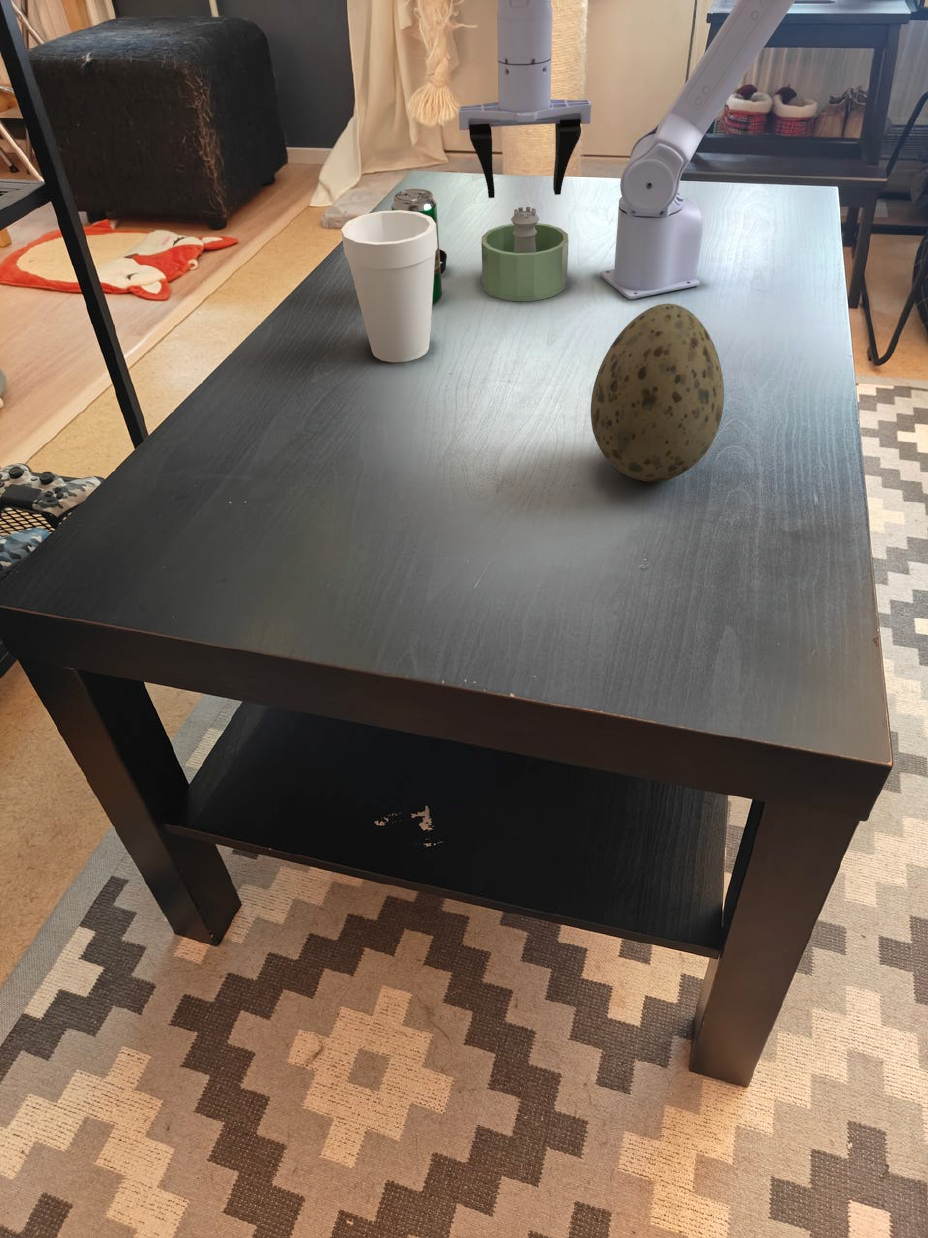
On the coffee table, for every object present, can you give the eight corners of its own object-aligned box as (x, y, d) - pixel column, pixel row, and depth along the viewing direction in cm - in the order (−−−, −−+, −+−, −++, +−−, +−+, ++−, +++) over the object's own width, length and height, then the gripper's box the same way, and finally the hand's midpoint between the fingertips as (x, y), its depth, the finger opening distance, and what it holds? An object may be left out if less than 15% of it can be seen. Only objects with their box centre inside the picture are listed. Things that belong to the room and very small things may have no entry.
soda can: (437, 310, 105) (430, 203, 97) (395, 308, 106) (385, 201, 98) (446, 292, 108) (440, 187, 100) (405, 290, 109) (396, 186, 101)
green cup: (545, 261, 114) (546, 217, 110) (580, 291, 107) (582, 245, 103) (470, 276, 112) (469, 230, 108) (501, 307, 105) (500, 260, 101)
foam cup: (377, 377, 94) (362, 251, 85) (344, 343, 100) (327, 222, 91) (458, 354, 96) (451, 230, 88) (421, 322, 103) (411, 204, 94)
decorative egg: (732, 462, 79) (764, 297, 69) (673, 523, 73) (698, 351, 63) (626, 427, 84) (641, 268, 74) (563, 481, 78) (569, 316, 68)
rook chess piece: (532, 289, 107) (532, 219, 101) (499, 282, 108) (498, 213, 103) (549, 275, 109) (551, 207, 104) (517, 269, 111) (517, 201, 106)
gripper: (456, 71, 92) (462, 208, 102) (597, 63, 92) (590, 201, 101) (456, 56, 98) (461, 187, 107) (589, 49, 97) (583, 181, 107)
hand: (524, 193), depth 105 cm, fingers open, 7 cm apart
